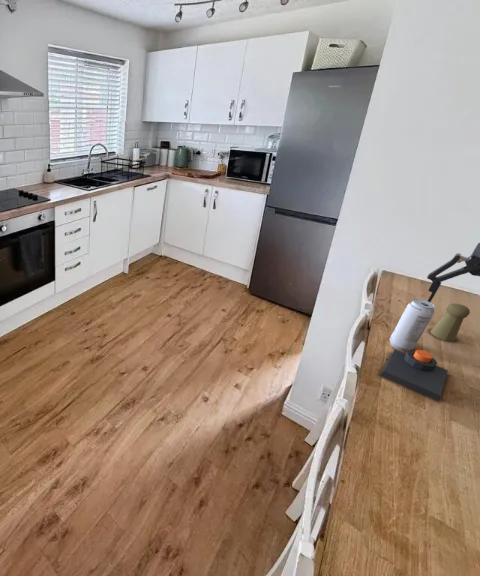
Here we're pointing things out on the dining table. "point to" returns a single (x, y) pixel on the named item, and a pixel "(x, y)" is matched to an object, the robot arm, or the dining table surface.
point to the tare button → (423, 356)
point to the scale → (415, 373)
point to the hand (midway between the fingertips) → (456, 310)
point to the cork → (450, 322)
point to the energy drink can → (412, 324)
